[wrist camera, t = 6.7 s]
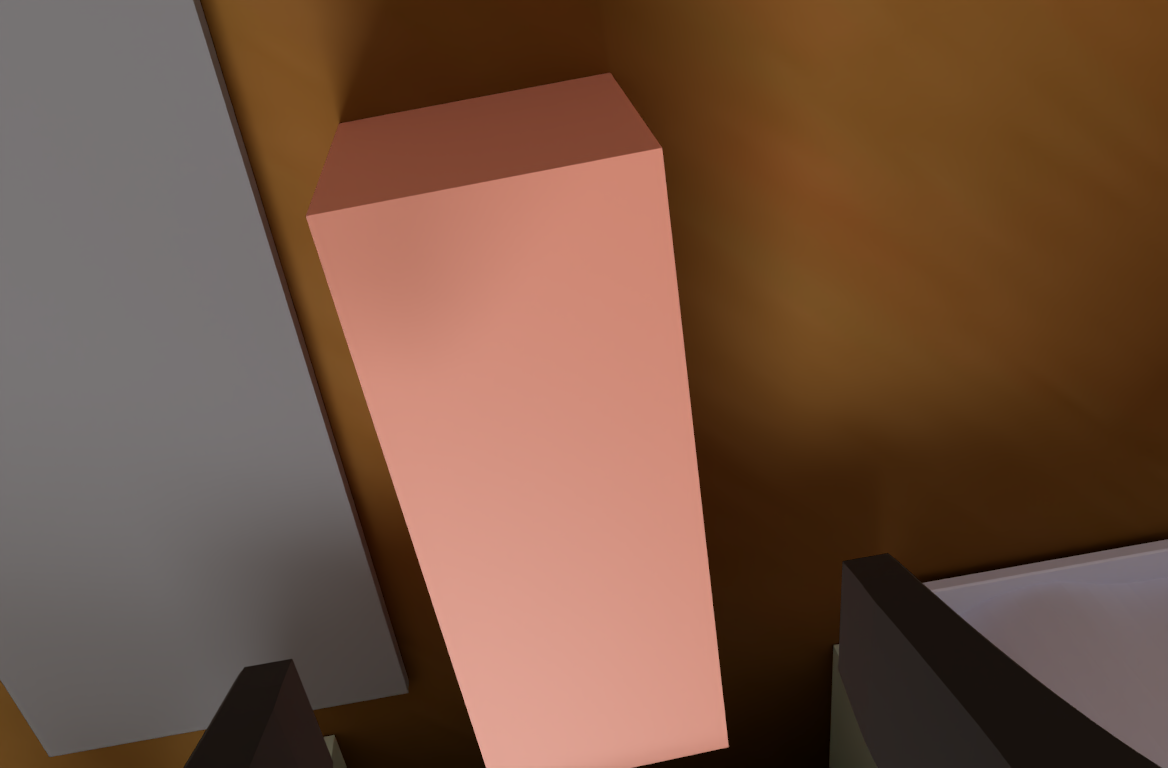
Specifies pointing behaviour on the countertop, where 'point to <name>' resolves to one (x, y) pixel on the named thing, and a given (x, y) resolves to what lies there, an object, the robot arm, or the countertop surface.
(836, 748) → the shelf cubby
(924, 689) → the robot arm
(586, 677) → the plain pink rectangular block
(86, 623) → the mat
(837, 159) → the countertop surface
